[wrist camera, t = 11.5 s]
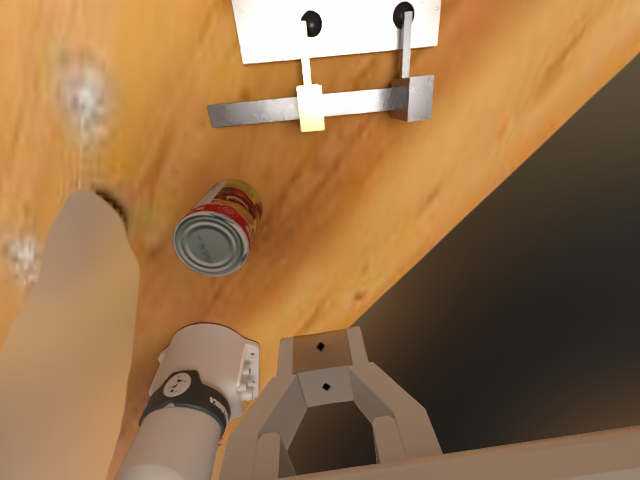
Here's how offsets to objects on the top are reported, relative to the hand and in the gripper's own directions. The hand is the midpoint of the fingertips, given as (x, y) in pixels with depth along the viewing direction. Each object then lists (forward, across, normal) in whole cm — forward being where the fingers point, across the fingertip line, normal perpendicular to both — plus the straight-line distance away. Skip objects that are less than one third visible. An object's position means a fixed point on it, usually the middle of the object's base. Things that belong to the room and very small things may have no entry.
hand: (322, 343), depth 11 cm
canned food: (+31, +11, +4) cm, 34 cm away
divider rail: (+31, -3, -10) cm, 33 cm away
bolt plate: (+31, -6, -18) cm, 36 cm away
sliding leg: (+31, -2, -10) cm, 32 cm away
